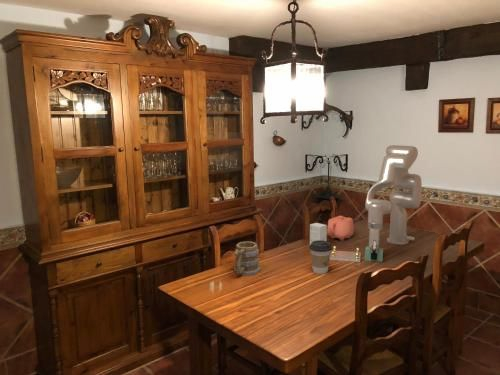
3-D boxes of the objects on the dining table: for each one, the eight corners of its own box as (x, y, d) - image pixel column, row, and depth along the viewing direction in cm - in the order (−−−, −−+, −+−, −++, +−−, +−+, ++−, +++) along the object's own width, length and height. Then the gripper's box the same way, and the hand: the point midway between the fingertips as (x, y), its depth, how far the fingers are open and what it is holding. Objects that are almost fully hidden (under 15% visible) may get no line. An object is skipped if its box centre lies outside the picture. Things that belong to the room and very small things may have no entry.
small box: (326, 246, 251) (327, 225, 248) (319, 248, 247) (319, 227, 244) (316, 242, 257) (316, 222, 255) (309, 245, 253) (309, 224, 251)
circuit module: (382, 258, 229) (383, 248, 228) (382, 261, 224) (382, 251, 223) (365, 256, 232) (365, 246, 231) (364, 260, 227) (365, 249, 226)
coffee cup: (323, 277, 205) (324, 248, 202) (304, 272, 212) (304, 243, 209) (336, 270, 213) (336, 242, 210) (317, 265, 220) (317, 238, 218)
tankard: (241, 264, 224) (241, 237, 221) (263, 268, 218) (263, 240, 215) (223, 278, 206) (222, 249, 203) (246, 282, 201) (245, 252, 198)
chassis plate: (360, 254, 236) (360, 247, 235) (360, 262, 224) (360, 254, 224) (331, 252, 240) (331, 245, 239) (329, 259, 229) (329, 252, 228)
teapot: (341, 231, 279) (342, 211, 276) (358, 235, 270) (359, 214, 267) (322, 239, 263) (322, 217, 261) (339, 243, 255) (340, 221, 252)
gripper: (368, 220, 234) (366, 252, 237) (367, 229, 217) (366, 262, 221) (382, 221, 231) (380, 253, 235) (382, 230, 215) (381, 263, 219)
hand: (373, 257), depth 228 cm, fingers closed on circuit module, 5 cm apart
